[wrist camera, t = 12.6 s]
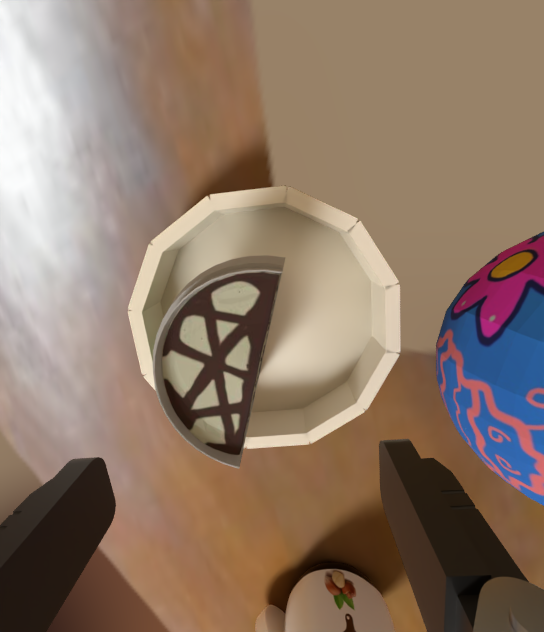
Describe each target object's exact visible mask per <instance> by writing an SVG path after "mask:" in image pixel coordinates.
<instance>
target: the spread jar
mask: <svg viewBox="0 0 544 632" xmlns="http://www.w3.org/2000/svg"><path fill="white" fill-rule="evenodd" d="M256 632H395V629H394V625H393V622H392V619H391V616H390V613H389V610H388V608H387V605H386V603H385V601H384V599H383V597H382V595H381V594H380V592H379V591H378V590H377V588H376V587H375V586H374V585H373V584H372V583H371V581H370V580H369V579H368V578H367V577H365V576H364V575H363V574H362V573H361V572H359V571H358V570H356V569H355V568H353V567H351V566H349V565H346V564H343V563H337V562H328V563H322V564H319V565H316V566H314V567H312V568H310V569H309V570H307V571H306V572H305V573H304V574H303V575H302V576H301V577H300V578H299V579H298V581H297V582H296V584H295V585H294V587H293V589H292V592H291V594H290V596H289V599H288V603H287V608H286V614H285V613H284V612H283V611H282V610H281V609H279V608H278V607H276V606H274V605H268V606H267V607H266V608H265V609H264V610H263V611H262V612H261V613H260V615H259V616H258V617H257V619H256Z"/></svg>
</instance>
